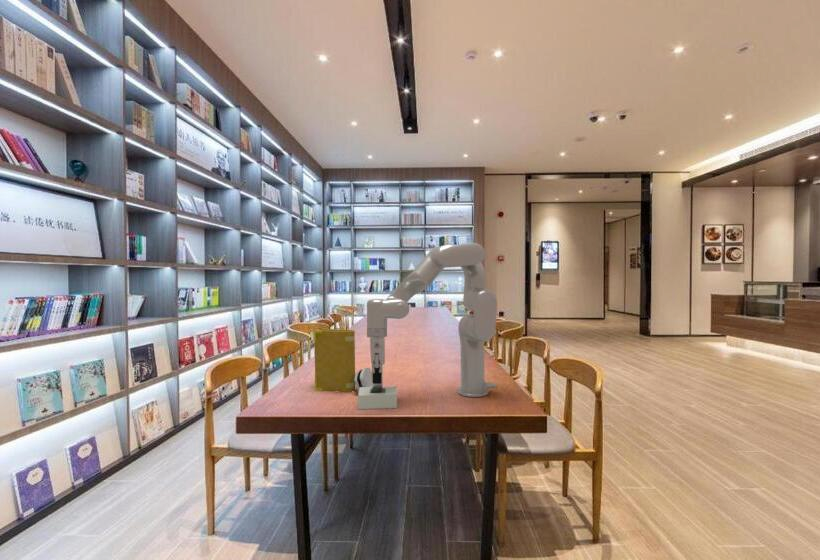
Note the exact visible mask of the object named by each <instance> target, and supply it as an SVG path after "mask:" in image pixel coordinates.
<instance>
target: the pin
mask: <svg viewBox="0 0 820 560" xmlns="http://www.w3.org/2000/svg"><path fill="white" fill-rule="evenodd" d="M374 364H375V362H374ZM379 364H380V362H379ZM383 368H384V367H383V364H381V372H382V383H381V384H373V365H372V364H371V372H372V392H373V393H381V392H383V387H384V385H383V384H384V381H383V380H384V379H383V378H384V377H383V372H384V371H383Z"/></svg>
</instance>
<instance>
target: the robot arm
mask: <svg viewBox="0 0 820 560" xmlns="http://www.w3.org/2000/svg"><path fill="white" fill-rule="evenodd" d="M485 256H486V253H485V249H484V247H483V246H482V245H481V244H479V243H477V242H467V243H460V244H458V243H457V244H445V245H438V246H435V247H433V248H432V249H430V251H429V252H427V254H426V255H425V256H424V257H423V259H422V260H421V261H420V262H419V263H418V265H416V267H415V268H414V269H413V271H411V273H410V274H409V275H407V276H406V278H404V280H402V281H401V282H400V283H399V284H398V285H397V286H396V287H395V288H394V289H393V291H392V292H391V293H390V294H389V295H388V296H387V298H386V299H384V298H383V299H382V298H381V299H380V298H372V299H368V301H367V302H366V337H367V338H369V339H370V340H369V342H370V343H369V345H370V351H369V352H370V363H371V366H372V365H373V384H381V383H382V372H381V364H383V365H385V363H386V362H385V361H386V345H385V344H386V341H385V340H386V339H385V338H387V337H388V319H394V320H395V319H396V320H402V319H404V318H406V317H407V316H408V315H409V313H410V305H409V301H410V300H411V299H412V298H413V297H414V296H416V295H417V294H419V293H421V292H423V291H425V290H426V289H428V288H429V287H430V286H431V285H432V283H434V281H435V280H436V278H437V277H438V276H439V275H440V274H441V272H442V271H443V270H444V269H446V268H458V267H460V268H461V270H462V272H463V275H464V282H463V285H464V286H463V299H462V301H463V302H462V303H463V306H464V307H465V309H467V310H468V311H470V312H473V314H472V313H471V314H465V315H463V317H461V318H460V320H459V322H458V329H457V330H458V334H459V343H460V386H459V387H457V389H456V393H457V394H459V395H460V396H463V397H469V398H483V397H486V396H487V395H489V393H490V392H489V391H490V390H489V389H497V383H495V382H494V383H492V382H487V381H486V380H485V379H486V378H485V371H486V370H485V367H486V366H485V345H484V344H485V343H484V342H488V341H490V340H491V339H492V338H493V336H494V335H495V332H496V329H497V328H496V327H497V314H498V313H497V312H498V300H497V297H496V294H495V293H494V292H493V291H492V290H491V289H489V288H487V287H486V285H487V283H486V278H487V277H486V276H487V275H486V270H485V267H484V265H483V263H482V262H483V260H484V259H485ZM374 362H375V364H374ZM379 362H380V364H379Z"/></svg>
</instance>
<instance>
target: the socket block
mask: <svg viewBox="0 0 820 560" xmlns="http://www.w3.org/2000/svg"><path fill="white" fill-rule="evenodd" d="M357 402H358V403H357V410H378V409H379V410H381V409H384V410H385V409H386V408H387V409H398V390H397V386H395V385H393V386H387V385H386V386H383V392H381V393H373V392H372V387H360V389H359V393H358V394H357Z"/></svg>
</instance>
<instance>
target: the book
mask: <svg viewBox="0 0 820 560" xmlns="http://www.w3.org/2000/svg"><path fill="white" fill-rule="evenodd" d="M355 333H356V332H355V329H340V328H339V329H338V328H336V329H335V328H320V329H316V330H313V342H314V391H320V390H321V391H320V392H322V391H324V390H326V392H333V391H339V392H338V393H343V392H350V393H353V392H352V391H354V392H356V384H355V380H354V379H355V375H356V346H355V345H356V339H355V338H356V337H355Z"/></svg>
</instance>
